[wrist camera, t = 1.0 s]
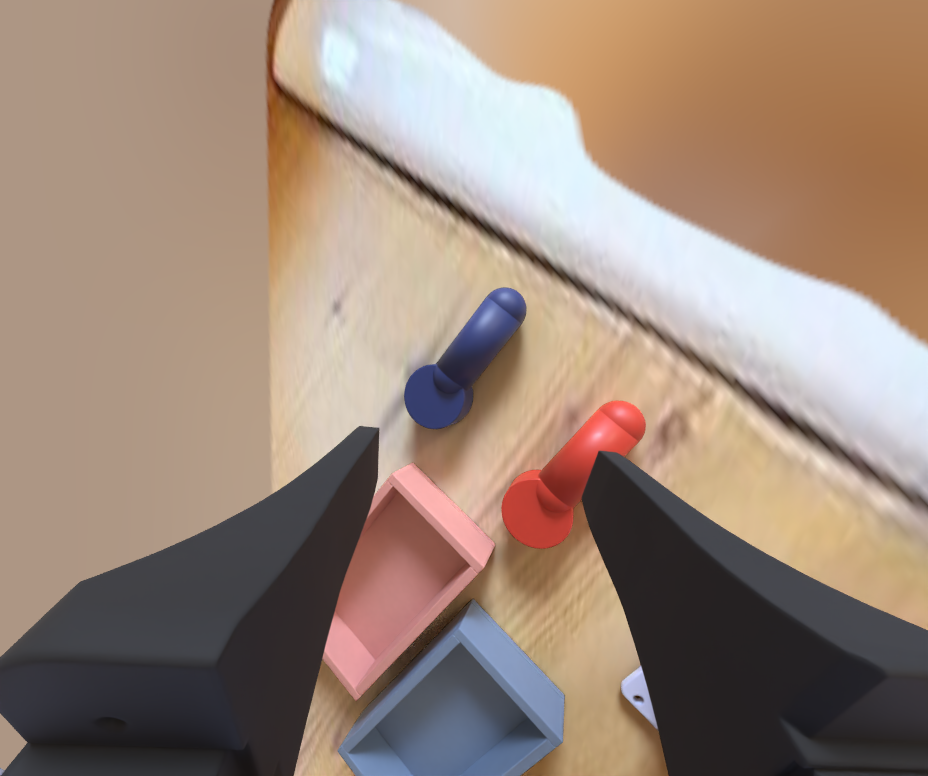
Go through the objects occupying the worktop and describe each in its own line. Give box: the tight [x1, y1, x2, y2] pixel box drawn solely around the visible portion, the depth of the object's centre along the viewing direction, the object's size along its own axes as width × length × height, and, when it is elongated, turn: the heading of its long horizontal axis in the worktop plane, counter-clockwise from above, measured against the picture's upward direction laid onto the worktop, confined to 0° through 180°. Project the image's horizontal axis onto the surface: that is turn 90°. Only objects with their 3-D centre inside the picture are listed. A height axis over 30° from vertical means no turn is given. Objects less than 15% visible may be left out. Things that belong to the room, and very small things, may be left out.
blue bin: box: [338, 599, 565, 776], centre depth 22 cm, size 14×8×3 cm, turn 140°
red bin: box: [322, 462, 495, 701], centre depth 23 cm, size 14×8×3 cm, turn 140°
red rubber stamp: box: [502, 401, 646, 548], centre depth 19 cm, size 10×4×3 cm, turn 140°
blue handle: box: [404, 288, 526, 429], centre depth 21 cm, size 10×4×3 cm, turn 140°
